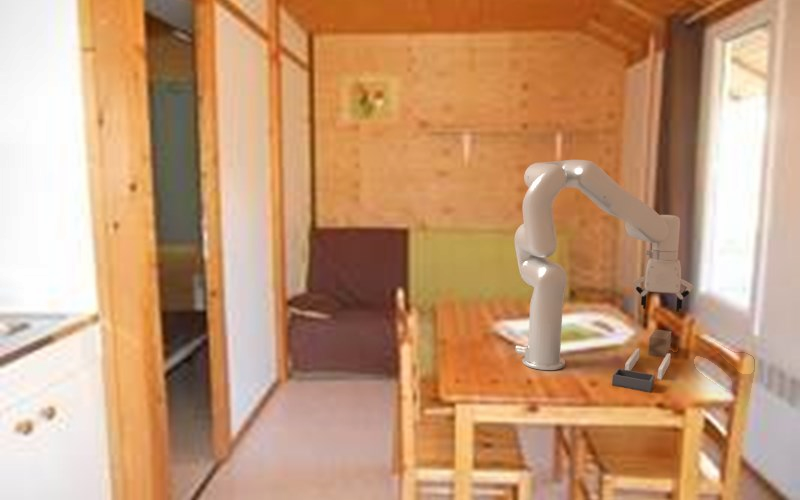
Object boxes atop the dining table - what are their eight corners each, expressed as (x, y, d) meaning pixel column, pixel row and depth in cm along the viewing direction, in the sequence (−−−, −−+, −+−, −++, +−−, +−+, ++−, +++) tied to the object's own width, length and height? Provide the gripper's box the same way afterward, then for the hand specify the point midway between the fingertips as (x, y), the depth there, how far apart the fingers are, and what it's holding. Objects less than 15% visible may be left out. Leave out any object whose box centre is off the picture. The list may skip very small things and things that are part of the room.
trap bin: (612, 385, 182) (612, 374, 181) (616, 378, 187) (617, 368, 186) (650, 392, 177) (650, 381, 176) (654, 385, 182) (654, 374, 182)
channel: (624, 373, 191) (625, 363, 191) (635, 357, 205) (636, 348, 204) (661, 379, 186) (661, 369, 186) (669, 363, 200) (670, 353, 199)
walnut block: (648, 355, 207) (649, 337, 206) (653, 346, 216) (655, 329, 215) (665, 358, 205) (666, 339, 204) (670, 349, 213) (671, 331, 212)
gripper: (634, 255, 202) (630, 309, 205) (695, 259, 195) (691, 315, 198) (635, 251, 209) (632, 303, 212) (694, 255, 202) (690, 309, 205)
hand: (660, 309), depth 205 cm, fingers open, 9 cm apart
